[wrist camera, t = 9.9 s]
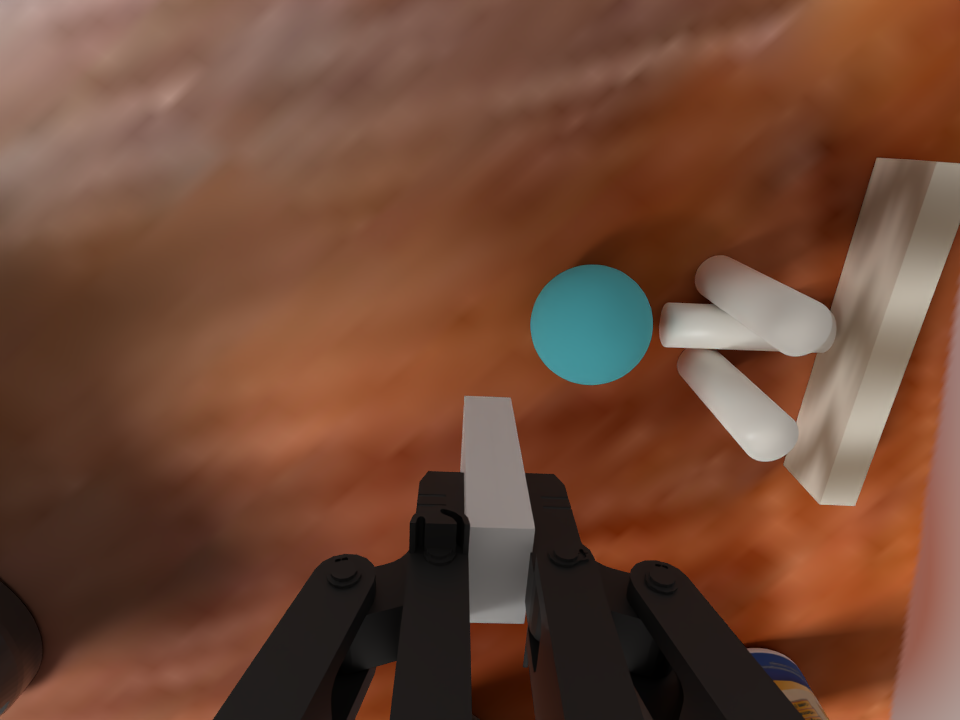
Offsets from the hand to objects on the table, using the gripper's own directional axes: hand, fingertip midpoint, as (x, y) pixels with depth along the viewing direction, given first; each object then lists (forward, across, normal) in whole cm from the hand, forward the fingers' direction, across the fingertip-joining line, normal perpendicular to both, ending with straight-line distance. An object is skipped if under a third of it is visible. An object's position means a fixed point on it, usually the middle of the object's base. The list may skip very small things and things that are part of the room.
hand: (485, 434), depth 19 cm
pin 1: (+13, -13, -3) cm, 19 cm away
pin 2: (+13, -13, +2) cm, 19 cm away
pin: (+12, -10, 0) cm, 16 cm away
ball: (+11, -6, -1) cm, 12 cm away
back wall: (+13, -21, 0) cm, 24 cm away
